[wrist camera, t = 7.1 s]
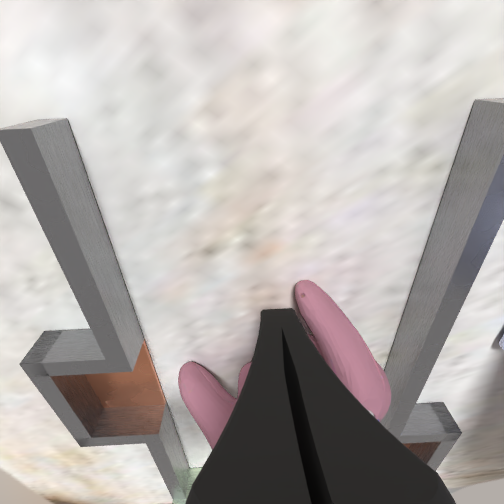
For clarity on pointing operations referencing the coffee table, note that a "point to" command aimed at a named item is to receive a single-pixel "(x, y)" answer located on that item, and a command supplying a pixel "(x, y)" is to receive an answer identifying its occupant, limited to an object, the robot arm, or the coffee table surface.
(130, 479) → the coffee table surface
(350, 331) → the video game controller
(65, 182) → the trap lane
